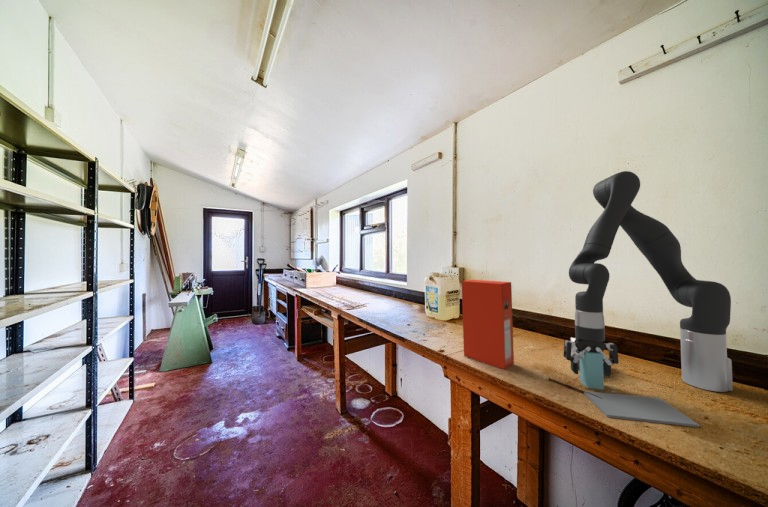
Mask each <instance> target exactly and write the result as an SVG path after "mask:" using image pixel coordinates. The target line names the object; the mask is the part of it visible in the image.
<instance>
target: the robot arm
mask: <svg viewBox="0 0 768 507" xmlns="http://www.w3.org/2000/svg"><path fill="white" fill-rule="evenodd" d="M640 189H641V179H640V178H639V176H638V175H637V174H636V173H635V172H633V171H629V170H625V171H620V172H617V173H614V174H613V175H612V174H611V175H610V176H609V177H606V178H603V180H600V181H598V182H597V183H596V184H595V185H594V186H593V188H592V194H593V197H594V198H595V200H596V202H597V203H598V204H599V205H600V206H601V207H602V208H603V209H604V210H603V211H602V213H601V214H600V215H599V216H598V217H597V219H596V220H595V221H594V223H593V225H592V226H591V227H590V229H589V231H588V233H587V234H586V238H585V239H584V240H585V241H584V243H583V248H582V249H581V250H580V252H579V253H578V254H577V256H576V257H575V258H574V260H573V261H572V263H571V264H570V266H569V269H568V277H569V279H570V281H571V282H572V283H575V284H578V285H588V286H587V288H586V291H578V292H577V293H575V296H574V298H575V313H574V334H575V335H574V336H575V337H574V338H576V339H575V341H574V342H572V341H571V340H568V339H565V340H564V341H563V357H564V358H565V359H566V360H567V361H570V369H571V371H572V372H573V374H575V375H579V370H578V363H577V362H578V361H579V359H581V358H583V357H584V355H585V352H598V353H602V354H603V375H604V376H605V377H607V378H609V377H610V376H611V374H612V365H614V364H616V365H618V364H619V363H620V362H619V351H618V346H617V344H615V343H613V342H608V343H605V340H606V333H605V332H606V330H605V329H606V328H605V325H606V324H605V315H604V298H605V293H606V291H607V287H608V284H609V281H610V271H609V269H608V268H607V266H606V265H604V264H602V263H597V261H601V260H605V259H607V258H609V255H610V253H611V250H612V246H613V244H614V241H615V238H616V235H617V233H618V230H619V229H620V227H621V229H622V230H623V231H624V232H625V233H626V234H627V235H628V237H629V238H630V240H631V241H632V242H633V244H634V245H635V246H636V248H637V249H638V250H639V252H640V253H641V254H642V255H643V256H644V258H645V259H646V260H647V262H648V263H649V264H650V265H651V267H652V268H653V269H654V271H656V273H657V274H658V276H659V277H660V279H661V280H662V282H663V284H664V285H665V287H666V289H667V291H669V294H670V295H671V296H672V298H673V299H674V300H675V301H676V303H678V304H680V305H681V306H685V307H687V308H692V309H691V315H690V317H685V318H682V319H680V322H679V330H680V332H679V333H680V335H679V336H680V362H681V363H680V364H681V365H680V366H681V368H680V369H681V380H682V381H683V382H684V383H685V384H688V385H690V386H693V387H695V388H699V389H702V390H707V391H712V392H719V393H726V392H729V391H731V392H733V390H734V388H733V365H732V364H733V362H732V359H731V358H729V357H728V352H727V351H728V347H727V346H728V345H727V344H728V343H727V328H728V327H729V325H730V323H731V309H732V299H731V298H732V297H731V294H730V291H729V289H728V288H727V287H726V286H725V285H724V284H722V283H720V282H717V281H712V280H711V281H710V280H702V279H701V280H700V279H696V277H694V276H693V275H692V274H691V273H690V272H689V270H688V269H687V268H686V267H685V265H684V264H683V261H682V247H681V243H680V241H679V240H678V238H677V237H676V236H675V235H674V233H673V232H672V230H670V228H669V227H668V226H667V225H666V224H664V223H663V222H661V221H660V220H657V219H655V218H653V217H652V216H649V215H648V214H645V213H643V212H641V211H639V210H637V209H636V208H634V206H632V204H633V202H634V201H635V199H636V197H637V195H638V193H639V191H640ZM573 346H576V347H577V348H576V350H575V351H574V352H573V354H571V348H573ZM606 349H607V350H608V356H607V355H606V353H604V352H605V350H606Z"/></svg>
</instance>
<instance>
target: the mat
mask: <svg viewBox="0 0 768 507" xmlns="http://www.w3.org/2000/svg"><path fill="white" fill-rule="evenodd" d="M585 391H586V390H585ZM586 392H588V393H586ZM586 392H584V394H583V395H584V396H586V398H587V399H588V400H590V402H591V403H593V405H595V406H596V408H598V410H599V411H600V412H601V413H602V414H604V416H605V417H606V418H613V419H621V420H630V421H640V422H649V423H657V424H666V425H675V426H676V425H677V426H685V427H691V428H692V427H694V428H701V427H700V424H699V423H697V422H696V421H694V420H693V419H691V418H690V417H688V416H687V415H686V414H684V413H683V412H681V411H679V410H678V409H677V408H675V407H673V406H672V405H671V404H669V403H668V402H666V401H664V400H663V399H661V397H651V396H642V395H641V396H639V395H630V394H620V393H619V394H618V393H607V392H598V391H589V390H588V391H586ZM589 393H591V394H594V395H596V396H594V395H591V394H589ZM597 396H599V397H601V398H599V397H597ZM602 398H603V399H602Z"/></svg>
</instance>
